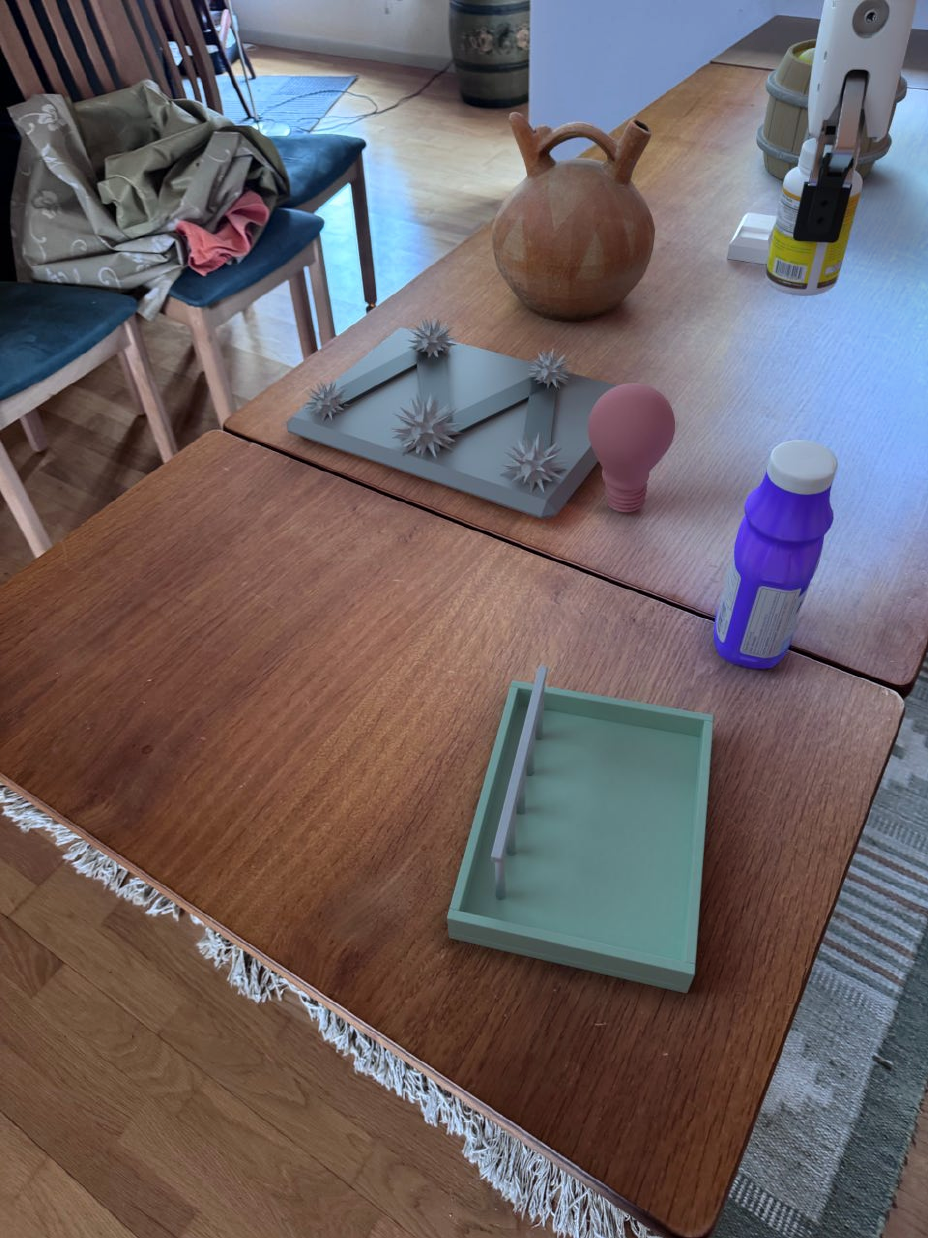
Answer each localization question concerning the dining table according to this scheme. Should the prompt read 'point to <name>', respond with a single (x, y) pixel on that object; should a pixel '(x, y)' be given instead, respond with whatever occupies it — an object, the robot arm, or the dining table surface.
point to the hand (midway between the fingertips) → (814, 220)
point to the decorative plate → (462, 418)
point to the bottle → (776, 555)
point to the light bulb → (630, 440)
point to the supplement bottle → (801, 261)
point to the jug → (574, 223)
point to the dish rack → (590, 836)
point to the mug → (805, 115)
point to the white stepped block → (753, 239)
